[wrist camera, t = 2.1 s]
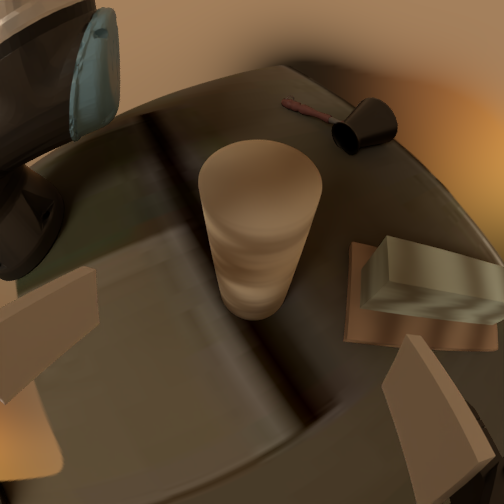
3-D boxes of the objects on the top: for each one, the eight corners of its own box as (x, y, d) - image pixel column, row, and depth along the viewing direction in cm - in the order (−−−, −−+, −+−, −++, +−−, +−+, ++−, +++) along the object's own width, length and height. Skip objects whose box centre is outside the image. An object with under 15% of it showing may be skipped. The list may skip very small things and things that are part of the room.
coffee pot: (395, 149, 36) (363, 172, 35) (315, 105, 45) (281, 121, 44) (402, 109, 30) (369, 128, 28) (312, 71, 39) (275, 85, 38)
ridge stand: (343, 341, 23) (376, 319, 16) (349, 246, 27) (373, 204, 21) (492, 351, 21) (533, 333, 15) (485, 277, 26) (518, 250, 20)
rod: (206, 290, 25) (173, 180, 13) (250, 248, 27) (254, 127, 15) (256, 334, 23) (269, 253, 11) (299, 286, 25) (343, 177, 13)
